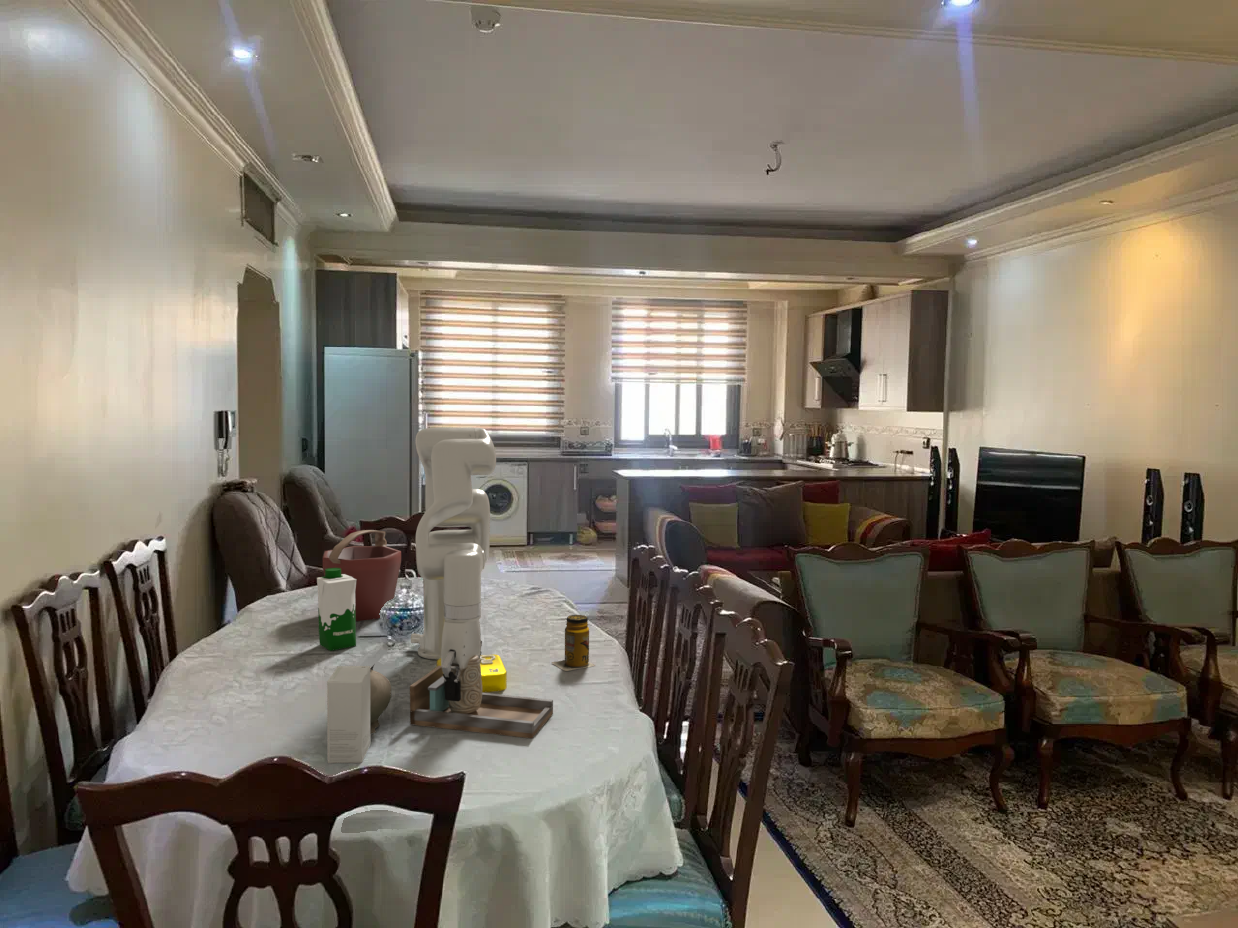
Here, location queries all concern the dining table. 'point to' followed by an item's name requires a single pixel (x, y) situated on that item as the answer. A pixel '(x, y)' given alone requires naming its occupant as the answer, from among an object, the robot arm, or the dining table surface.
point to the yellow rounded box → (491, 673)
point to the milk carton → (336, 610)
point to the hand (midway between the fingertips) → (462, 691)
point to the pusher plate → (438, 696)
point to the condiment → (576, 644)
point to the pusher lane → (481, 712)
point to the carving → (469, 688)
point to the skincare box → (348, 714)
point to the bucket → (367, 571)
